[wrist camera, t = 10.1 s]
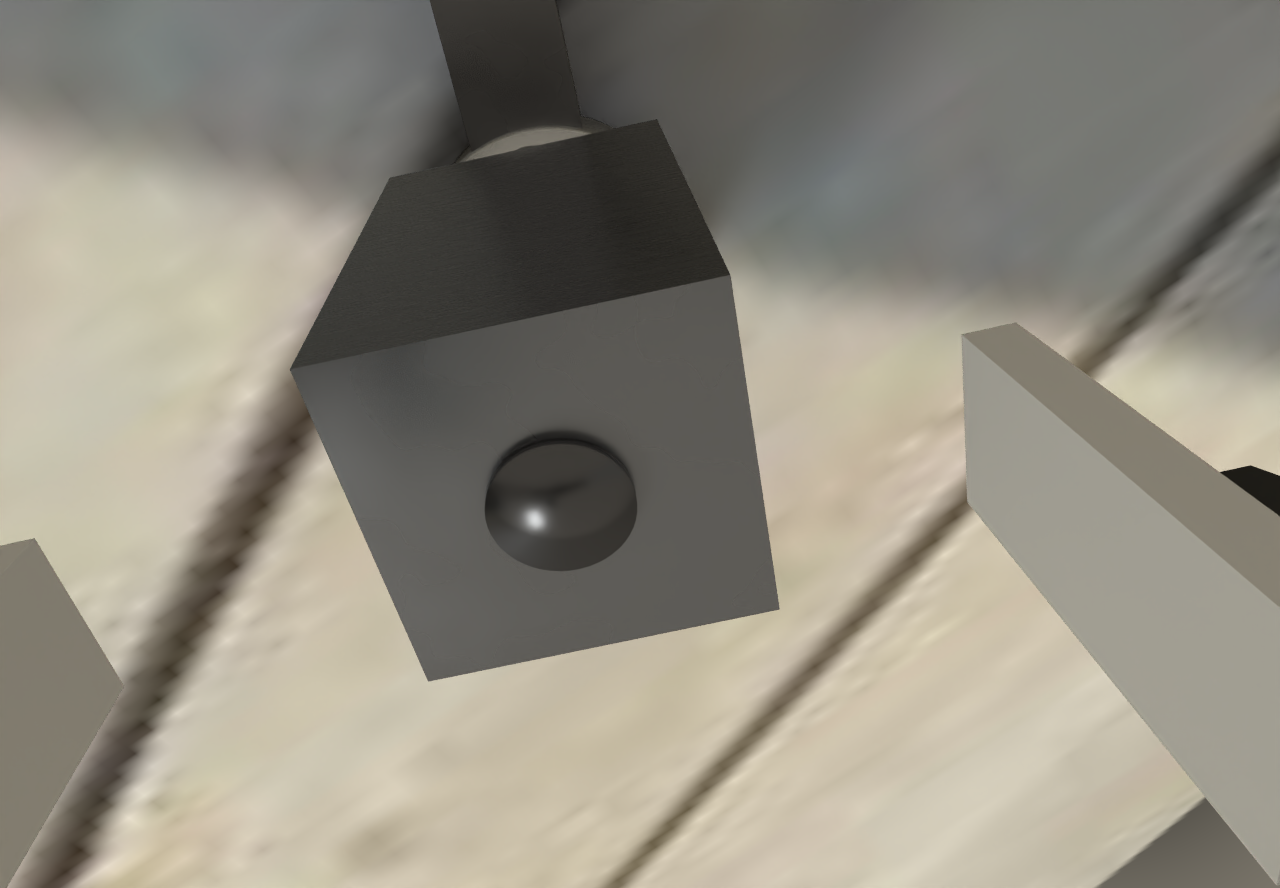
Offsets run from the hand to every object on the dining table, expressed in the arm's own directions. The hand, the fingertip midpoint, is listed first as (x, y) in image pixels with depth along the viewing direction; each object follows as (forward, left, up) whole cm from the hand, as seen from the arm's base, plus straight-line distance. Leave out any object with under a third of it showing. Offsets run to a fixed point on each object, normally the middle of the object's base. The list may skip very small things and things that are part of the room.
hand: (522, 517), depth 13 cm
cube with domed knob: (0, 0, -11) cm, 11 cm away
